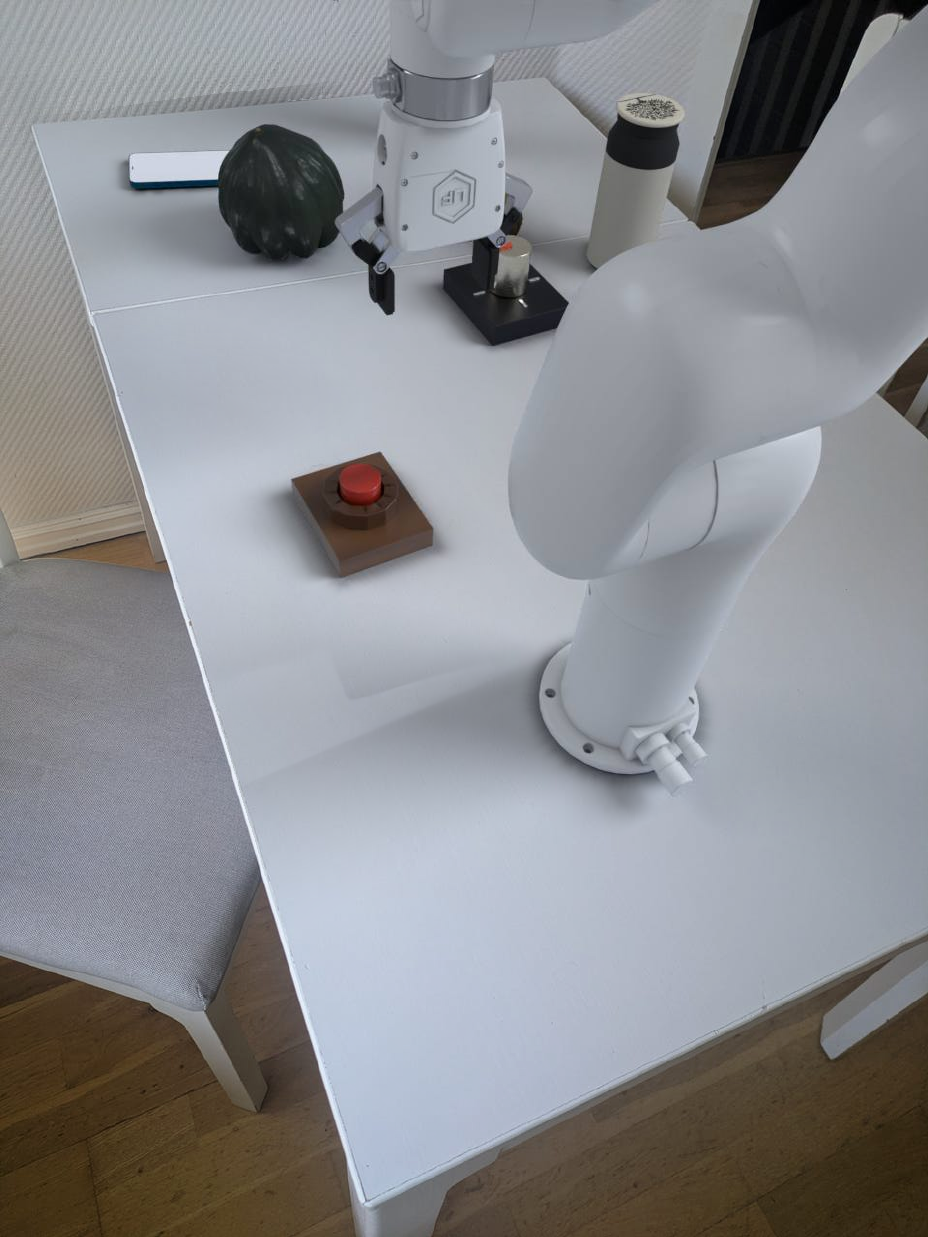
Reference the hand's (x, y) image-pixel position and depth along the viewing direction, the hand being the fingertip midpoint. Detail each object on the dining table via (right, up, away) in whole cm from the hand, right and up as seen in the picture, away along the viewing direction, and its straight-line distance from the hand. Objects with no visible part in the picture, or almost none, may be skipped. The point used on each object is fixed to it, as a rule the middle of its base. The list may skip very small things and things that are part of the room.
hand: (433, 294), depth 80 cm
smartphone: (-33, +30, +39) cm, 59 cm away
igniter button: (-6, -17, 0) cm, 19 cm away
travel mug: (+22, +16, +33) cm, 42 cm away
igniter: (-7, -20, +3) cm, 21 cm away
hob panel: (+7, +8, +25) cm, 27 cm away
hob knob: (+8, +9, +23) cm, 26 cm away
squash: (-19, +17, +30) cm, 40 cm away
